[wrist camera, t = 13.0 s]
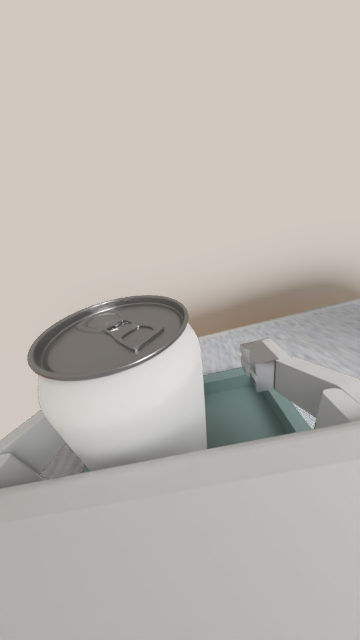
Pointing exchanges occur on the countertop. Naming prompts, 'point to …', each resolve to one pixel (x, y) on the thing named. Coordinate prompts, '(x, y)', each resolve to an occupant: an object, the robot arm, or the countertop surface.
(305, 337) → the countertop surface
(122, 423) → the can
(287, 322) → the countertop surface
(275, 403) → the tray
